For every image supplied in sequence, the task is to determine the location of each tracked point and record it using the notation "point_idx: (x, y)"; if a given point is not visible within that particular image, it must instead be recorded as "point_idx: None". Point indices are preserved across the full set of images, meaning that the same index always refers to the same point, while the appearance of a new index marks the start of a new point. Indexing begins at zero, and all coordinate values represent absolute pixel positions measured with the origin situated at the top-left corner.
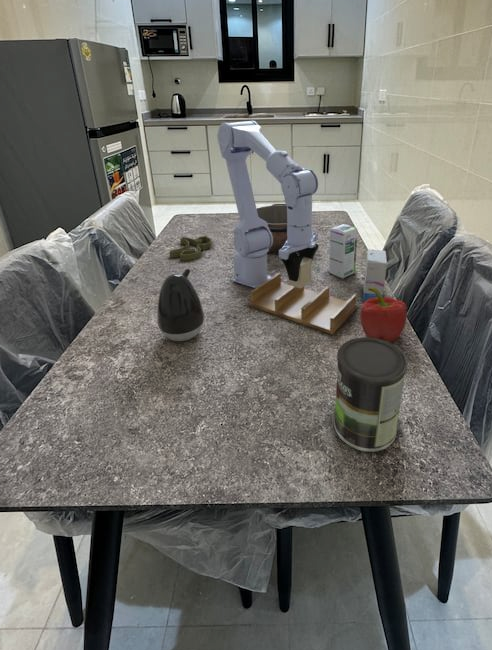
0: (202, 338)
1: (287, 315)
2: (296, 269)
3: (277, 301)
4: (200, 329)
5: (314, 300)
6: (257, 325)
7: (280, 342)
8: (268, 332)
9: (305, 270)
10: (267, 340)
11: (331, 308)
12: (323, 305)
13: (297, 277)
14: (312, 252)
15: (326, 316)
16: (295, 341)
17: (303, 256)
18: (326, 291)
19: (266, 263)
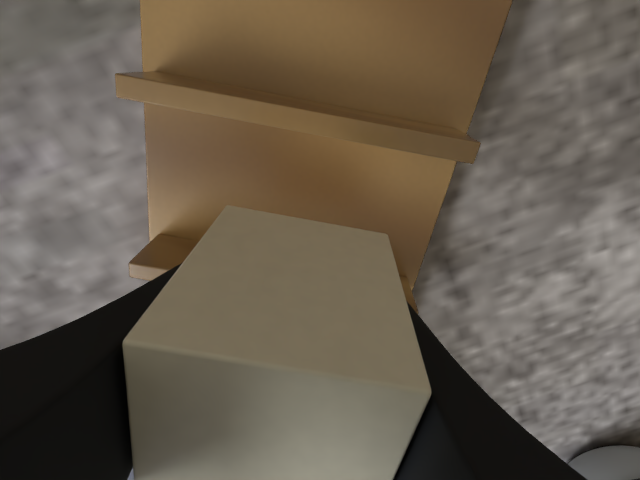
0: (621, 421)
1: (435, 222)
2: (495, 405)
3: (416, 307)
4: (628, 455)
5: (344, 116)
6: (510, 306)
7: (633, 174)
8: (556, 250)
9: (317, 300)
10: (620, 231)
11: (279, 5)
12: (266, 71)
13: (416, 317)
14: (28, 435)
15: (383, 6)
16: (621, 108)
17: (119, 440)
18: (170, 81)
19: (130, 477)
